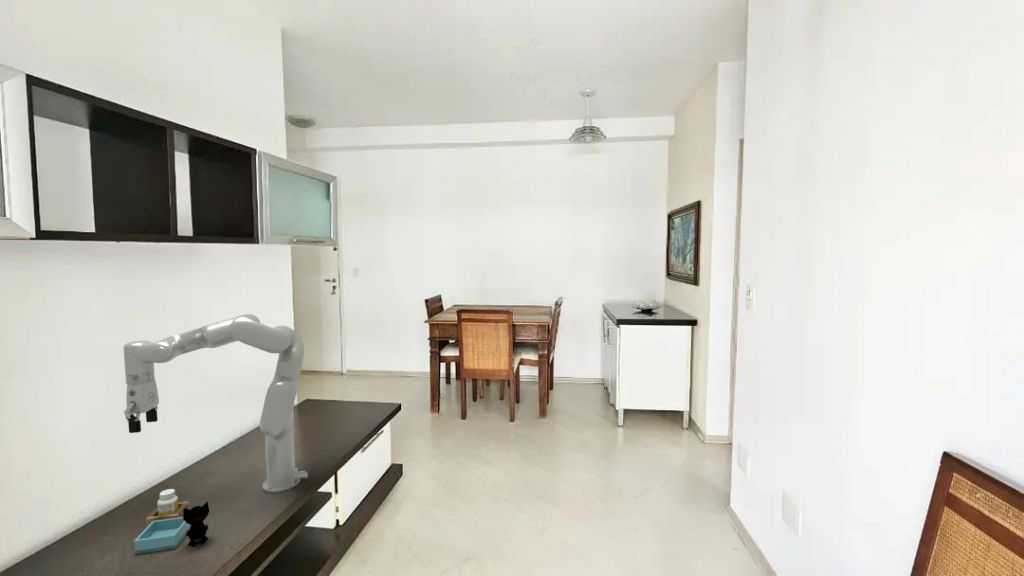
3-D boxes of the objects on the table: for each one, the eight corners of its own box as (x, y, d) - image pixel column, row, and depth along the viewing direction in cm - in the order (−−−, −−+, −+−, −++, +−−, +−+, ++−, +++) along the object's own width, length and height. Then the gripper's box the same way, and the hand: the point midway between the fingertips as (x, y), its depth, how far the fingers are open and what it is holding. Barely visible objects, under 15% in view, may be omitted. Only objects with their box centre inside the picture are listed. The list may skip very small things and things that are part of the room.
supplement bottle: (164, 526, 143) (162, 497, 143) (154, 522, 145) (152, 494, 145) (182, 517, 148) (180, 489, 147) (173, 513, 150) (171, 486, 150)
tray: (191, 528, 142) (190, 516, 142) (175, 548, 132) (174, 535, 132) (153, 533, 140) (152, 521, 140) (134, 554, 130) (133, 541, 130)
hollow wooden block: (189, 510, 152) (189, 501, 152) (177, 525, 144) (176, 515, 143) (160, 514, 150) (159, 504, 150) (146, 529, 142) (145, 519, 141)
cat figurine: (211, 532, 140) (209, 495, 139) (213, 544, 134) (210, 505, 134) (183, 541, 136) (180, 503, 135) (183, 553, 130) (181, 514, 129)
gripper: (137, 384, 144) (141, 435, 145) (166, 370, 161) (169, 417, 162) (110, 385, 143) (114, 437, 144) (142, 371, 160) (146, 418, 161)
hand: (143, 426), depth 153 cm, fingers open, 9 cm apart
